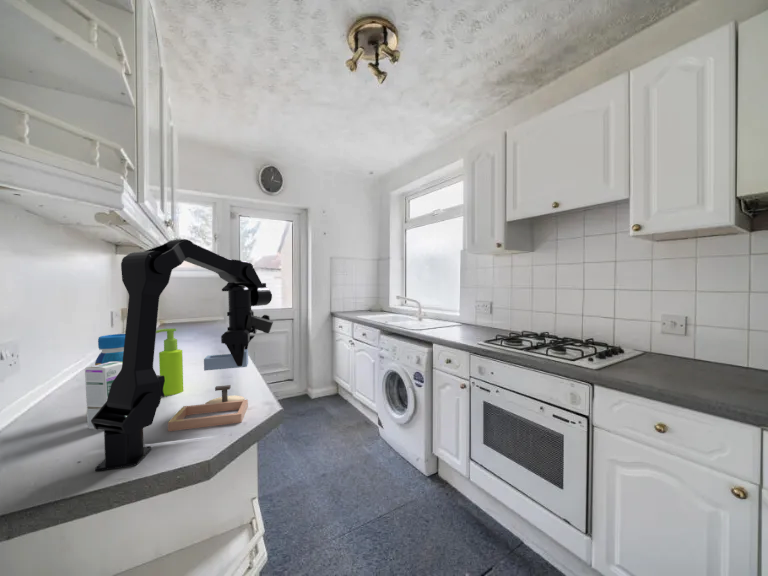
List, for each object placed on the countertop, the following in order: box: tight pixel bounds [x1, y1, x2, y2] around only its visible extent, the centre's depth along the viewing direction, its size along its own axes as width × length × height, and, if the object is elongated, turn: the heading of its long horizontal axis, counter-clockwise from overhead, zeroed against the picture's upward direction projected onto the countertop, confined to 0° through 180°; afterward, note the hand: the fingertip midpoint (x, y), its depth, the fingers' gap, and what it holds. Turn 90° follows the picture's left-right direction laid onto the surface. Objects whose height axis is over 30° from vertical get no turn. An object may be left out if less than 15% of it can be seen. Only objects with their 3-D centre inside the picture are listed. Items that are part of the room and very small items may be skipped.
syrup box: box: [84, 361, 127, 431], centre depth 77 cm, size 6×6×14 cm
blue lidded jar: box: [94, 333, 125, 366], centre depth 86 cm, size 8×8×20 cm
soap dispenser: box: [156, 328, 184, 397], centre depth 98 cm, size 6×7×20 cm
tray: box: [167, 399, 249, 432], centre depth 78 cm, size 10×15×2 cm, turn 105°
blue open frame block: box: [203, 349, 249, 372], centre depth 88 cm, size 10×5×4 cm, turn 108°
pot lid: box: [204, 384, 246, 404], centre depth 89 cm, size 10×10×5 cm
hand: (241, 363), depth 89 cm, fingers closed on blue open frame block, 5 cm apart
